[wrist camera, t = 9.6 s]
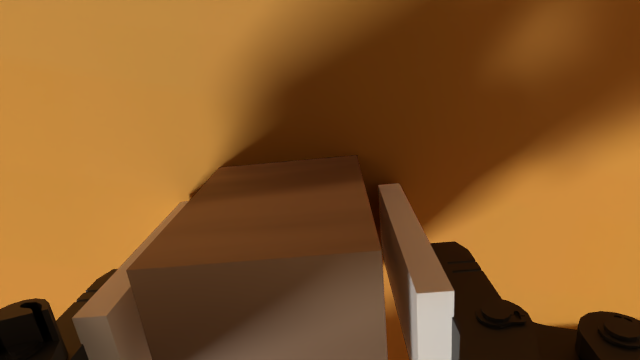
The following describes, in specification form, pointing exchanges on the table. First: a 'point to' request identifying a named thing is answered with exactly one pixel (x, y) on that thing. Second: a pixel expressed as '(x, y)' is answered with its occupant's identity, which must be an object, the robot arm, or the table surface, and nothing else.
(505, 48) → the table surface
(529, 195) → the table surface
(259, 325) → the walnut block
